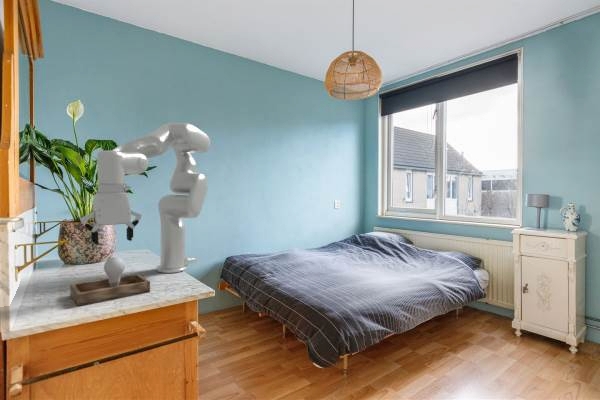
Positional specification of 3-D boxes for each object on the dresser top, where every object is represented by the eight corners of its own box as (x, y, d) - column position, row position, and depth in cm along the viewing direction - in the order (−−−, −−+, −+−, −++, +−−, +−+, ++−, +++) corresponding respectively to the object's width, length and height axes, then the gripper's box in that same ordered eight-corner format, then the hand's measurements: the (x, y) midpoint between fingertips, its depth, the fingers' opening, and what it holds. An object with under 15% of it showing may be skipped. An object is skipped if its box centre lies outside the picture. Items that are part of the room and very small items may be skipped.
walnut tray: (138, 283, 114) (138, 273, 114) (149, 291, 105) (150, 281, 105) (70, 295, 100) (70, 284, 100) (77, 306, 91) (77, 294, 91)
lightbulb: (129, 288, 106) (129, 255, 106) (116, 293, 100) (117, 259, 100) (112, 287, 107) (112, 254, 106) (98, 292, 100) (99, 258, 100)
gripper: (137, 188, 110) (137, 237, 111) (77, 189, 98) (78, 243, 99) (144, 189, 104) (145, 240, 106) (82, 190, 92) (83, 247, 94)
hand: (113, 241), depth 102 cm, fingers open, 9 cm apart
